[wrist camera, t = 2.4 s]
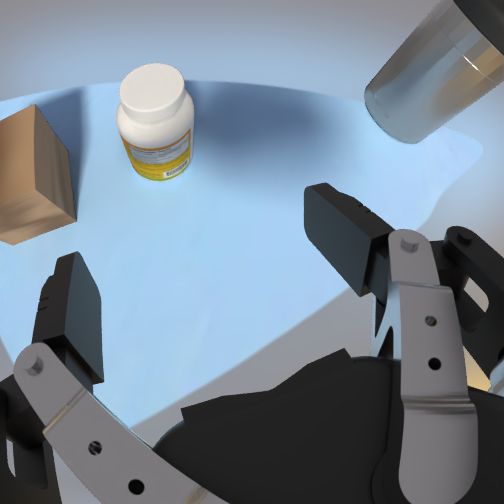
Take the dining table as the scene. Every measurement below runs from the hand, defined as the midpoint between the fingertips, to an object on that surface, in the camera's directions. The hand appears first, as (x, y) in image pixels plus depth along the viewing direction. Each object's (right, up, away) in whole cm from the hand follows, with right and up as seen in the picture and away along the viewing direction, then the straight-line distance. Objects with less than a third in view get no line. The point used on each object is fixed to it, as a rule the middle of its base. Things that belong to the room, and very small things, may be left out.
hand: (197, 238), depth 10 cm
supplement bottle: (-6, +8, +15) cm, 18 cm away
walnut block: (-17, +4, +12) cm, 21 cm away
